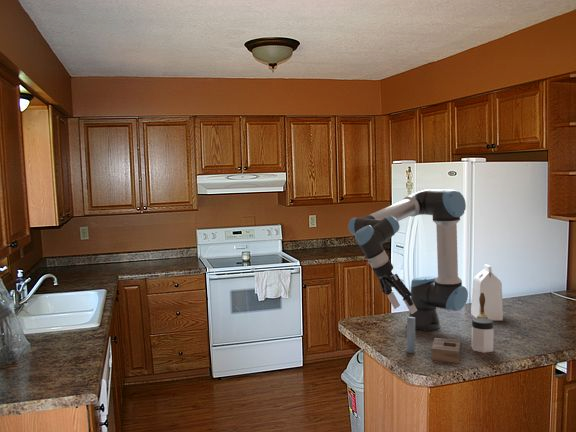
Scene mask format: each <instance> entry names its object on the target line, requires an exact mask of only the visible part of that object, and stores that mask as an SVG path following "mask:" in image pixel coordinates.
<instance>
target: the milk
mask: <svg viewBox="0 0 576 432" xmlns="http://www.w3.org/2000/svg"><path fill="white" fill-rule="evenodd" d="M492 271H493V270H492V266H491V265H490V264H488V263H487V264H486V263H485V264H483V268H482V270H481V271H479V272H478V273H477V274H476V275H475V276H474V277H473V279H472V290H471V291H472V292H471V293H472V294H471V307H470V308H471V309H470V314H471V315H472V317H474V318H477V315H479V314H480V311H481V310H480V308H481V306H480V302H479V298H480V295H481V293H484V296H485V305H484V314H485V315H487V318H488V319H490V320H492V321H504V313H503V312H504V311H503V285H502V284H503V283H502V282H501V280H500V279H499V278H498V277H497V276H496V275H495V274H494V273H493V272H492Z"/></svg>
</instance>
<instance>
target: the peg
mask: <svg viewBox="0 0 576 432" xmlns="http://www.w3.org/2000/svg"><path fill="white" fill-rule="evenodd" d="M406 323H407V324H406V352H407V353H410V354H413V353H416V329H415V317H408V316H407V317H406Z"/></svg>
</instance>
